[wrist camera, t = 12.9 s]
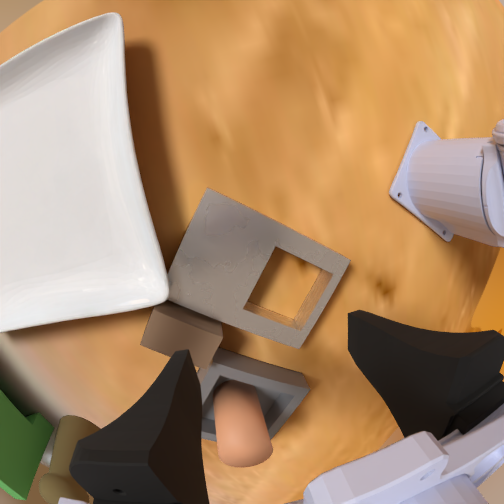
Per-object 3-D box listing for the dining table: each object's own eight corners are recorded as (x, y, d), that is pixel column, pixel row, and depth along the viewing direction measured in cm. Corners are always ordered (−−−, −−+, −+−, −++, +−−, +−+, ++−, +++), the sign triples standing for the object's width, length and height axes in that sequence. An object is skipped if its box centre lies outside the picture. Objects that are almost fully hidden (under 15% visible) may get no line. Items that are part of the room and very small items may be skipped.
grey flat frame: (339, 253, 23) (350, 260, 21) (292, 336, 24) (299, 349, 22) (207, 187, 20) (207, 187, 18) (162, 285, 21) (158, 295, 19)
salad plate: (130, 24, 16) (121, 3, 12) (179, 286, 21) (175, 304, 18) (-50, 121, 13) (-70, 119, 10) (-10, 323, 19) (-27, 339, 16)
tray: (301, 373, 25) (310, 389, 23) (257, 433, 27) (261, 449, 24) (211, 344, 23) (212, 361, 21) (175, 412, 24) (174, 431, 22)
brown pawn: (57, 407, 23) (25, 482, 12) (108, 427, 24) (88, 508, 13) (61, 437, 24) (37, 504, 13) (106, 454, 25) (92, 526, 14)
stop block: (220, 314, 23) (223, 337, 19) (205, 344, 23) (206, 369, 20) (160, 290, 21) (153, 309, 18) (147, 321, 22) (140, 344, 18)
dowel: (263, 383, 24) (281, 439, 18) (248, 413, 25) (261, 468, 18) (219, 375, 23) (227, 434, 17) (207, 406, 24) (212, 464, 17)
